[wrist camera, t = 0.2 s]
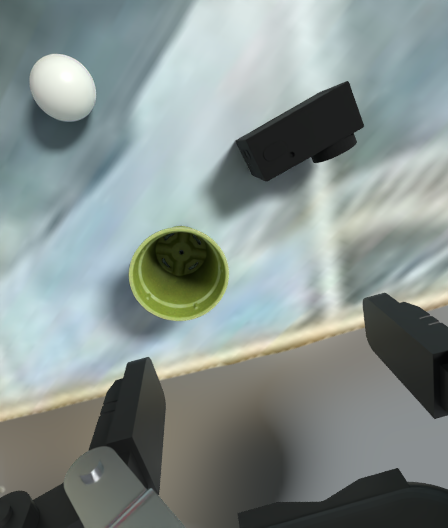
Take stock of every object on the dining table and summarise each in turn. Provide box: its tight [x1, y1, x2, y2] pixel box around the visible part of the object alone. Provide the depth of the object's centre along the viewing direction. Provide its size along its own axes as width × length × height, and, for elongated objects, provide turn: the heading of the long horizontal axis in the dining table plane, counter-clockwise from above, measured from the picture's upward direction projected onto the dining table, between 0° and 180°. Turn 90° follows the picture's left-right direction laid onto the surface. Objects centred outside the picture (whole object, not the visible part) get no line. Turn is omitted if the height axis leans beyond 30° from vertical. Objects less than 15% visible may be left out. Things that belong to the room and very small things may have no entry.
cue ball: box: [30, 54, 96, 122], centre depth 31 cm, size 6×6×6 cm
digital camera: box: [236, 81, 364, 181], centre depth 34 cm, size 10×5×7 cm, turn 118°
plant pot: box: [129, 226, 229, 321], centre depth 36 cm, size 9×9×9 cm
